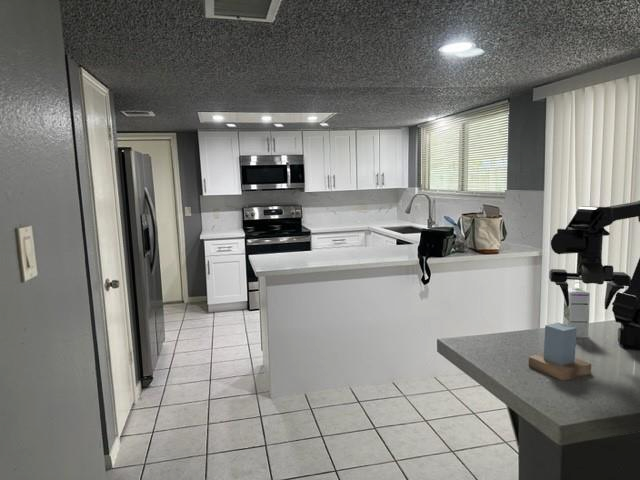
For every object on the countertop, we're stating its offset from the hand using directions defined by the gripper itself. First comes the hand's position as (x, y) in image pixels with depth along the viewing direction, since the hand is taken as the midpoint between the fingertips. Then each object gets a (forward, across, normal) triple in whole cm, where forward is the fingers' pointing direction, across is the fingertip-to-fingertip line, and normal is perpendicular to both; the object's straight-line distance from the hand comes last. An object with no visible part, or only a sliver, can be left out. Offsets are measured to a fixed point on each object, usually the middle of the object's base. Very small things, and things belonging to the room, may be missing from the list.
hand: (586, 307), depth 122 cm
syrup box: (+13, 0, +16) cm, 21 cm away
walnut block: (+14, -8, -15) cm, 22 cm away
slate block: (+11, -8, -16) cm, 20 cm away
